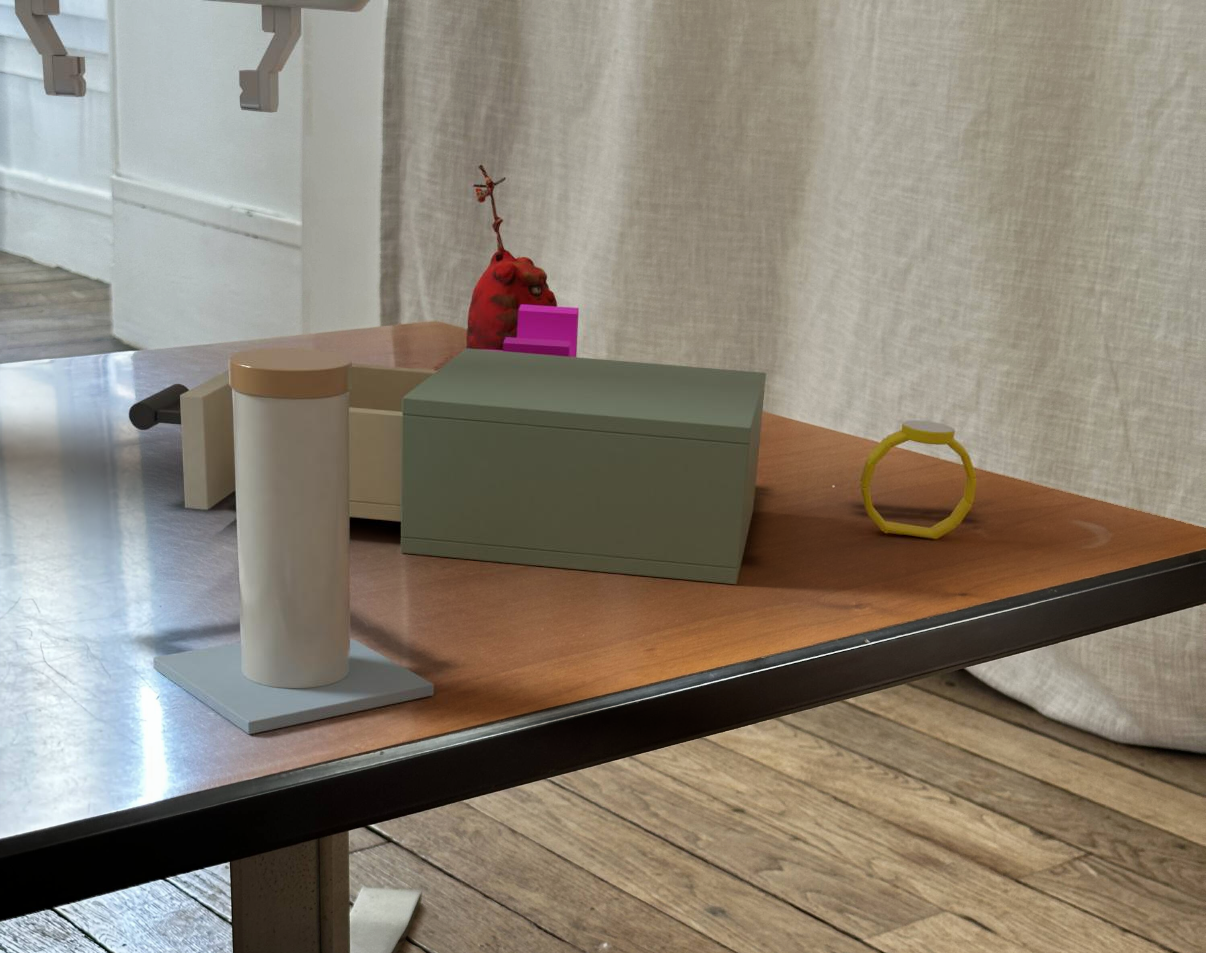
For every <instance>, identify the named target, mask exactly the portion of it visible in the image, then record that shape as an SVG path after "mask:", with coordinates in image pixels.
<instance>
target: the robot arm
mask: <svg viewBox="0 0 1206 953" xmlns="http://www.w3.org/2000/svg"><path fill="white" fill-rule="evenodd" d="M13 1H14V13H15V15H16V17H17V20H19V23H20V24H21V26H22V27H23V29H24V31H25V33H26V35H27V36H28V37H29V39H30V41H31V43H32V45H33V47H34V48H35V50H36V51H37V53H38V55H41V62H42V64H41V65H42V76H43V77H42V78H43V89H44V91H45V94H46V95H47V96H53V97H67V98H68V97H69V98H79V97H80V98H82V97H85V96H86V93H87V80H86V79H85V78H84V75H85V74H86V58H85V56H80V55H79V56H77V55H69V53H68V51H67V49H66V47H65V45H64V44H63V42H62V40H61V38H60V35H59V34H58V32H57V29H56V28H55V26H54V24H53V23H52V21H51V19H50V17H49V16H59V15H60V14H61V13H60V12H61V11H60V10H61V9H60V0H13ZM206 1H208V2H219V3H230V4H232V3H233V4H244V5H257V6H261V30H262V31H263V32H264V33H272V34H273V36H272V38H271V40H270V41H269V44H268V46H267V48H266V49H265V52H264V54H263V56H262V57H261V59H260V62H259V64H258V66H257V67H256V69H241V70H238V80H239V81H238V82H239V84H238V85H239V87H240V89H241V90H242V91H241V93H240V94H239V106H240V110H241V111H249V112H250V111H251V112H259V113H272V114H273V113H277V112H278V109H279V103H280V102H279V100H280V99H279V98H280V96H279V95H280V94H279V92H280V91H279V89H280V88H279V87H280V86H279V72H280V73H281V72H282V71H283V69H284V68H285V65H286V63H287V61H288V60H289V58H290V57H291V54H292V53H293V50H295V47H296V46H297V43H298V42H299V40H300V38H301V36H302V9H307V10H318V11H319V10H320V11H333V12H345V13H346V12H347V13H358V12H361V11H363V10H364V8H365V7H366V6H367V5H368V4H369V2H370V1H371V0H203V2H206Z"/></svg>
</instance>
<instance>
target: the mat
mask: <svg viewBox="0 0 1206 953" xmlns="http://www.w3.org/2000/svg"><path fill="white" fill-rule="evenodd" d="M153 669H154V670H155V671H157V672H158V673H160V674H161V675H163V676H164V677H166V678H167V679H168V680H170V681H171V682H173V683H174V684H175V685H177V686H178V687H180V688H182V689H183V690H184V691H186V692H187V693H188V694H190V695H191V696H193V697H194V698H196V699H197V700H198V701H200V702H201V703H203V704H204V705H206V706H207V707H209V708H210V709H212V710H213V711H214V712H215V713H217V714H219V715H220V716H222V717H223V718H224V719H226V720H227V721H229V722H230V723H232V724H233V725H234V726H236V727H237V728H239V729H240V730H242V731H243V732H245V733H246V734H247V735H252V734H257V733H262V732H266V731H272V730H276V729H281V728H287V727H290V726H295V725H300V724H304V723H309V722H310V723H311V722H315V721H318V720H319V721H320V720H323V719H324V720H325V719H329V718H333V717H339V716H342V715H347V714H352V713H357V712H361V711H366V710H371V709H377V708H380V707H385V706H391V705H394V704H400V703H404V702H408V701H414V700H418V699H422V698H429V697H432V696H434V695H435V694H434V693H435V692H434V691H435V685H434V683H433V682H431V681H430V680H427V679H426V678H424V677H422V676H420V675H419V674H417V673H415V672H413V671H411V670H410V669H408V668H406V667H404V666H403V665H400V664H399V663H397V662H396V661H394V660H391V659H390V658H388V657H386V656H385V655H383V654H381V653H379V652H377V651H376V650H374V649H372V648H370V647H369V646H366V644H363V643H361V642H359V641H358V640H356V639H354V638H353V637H351V636H350V672H349V674H348V675H347V676H346V677H345V678H344V679H342V680H340V681H338V682H335V683H333V684H329V685H325V686H320V687H313V688H297V689H293V688H278V687H271V686H266V685H262V684H259V683H256V682H253V681H251V680H249V679H248V678H246V677H245V676H244V675H243V673H242V670H241V641H238V642H232V643H227V644H220V645H215V646H210V647H203V648H198V649H193V650H187V651H181V652H175V653H170V654H165V655H158V656H154V657H153Z"/></svg>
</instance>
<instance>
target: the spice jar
mask: <svg viewBox="0 0 1206 953" xmlns="http://www.w3.org/2000/svg"><path fill="white" fill-rule="evenodd" d="M352 364H353V363H352V359H350V358H349V357H347V356H345V355H342V354H339V353H336V352H332V351H326V350H318V349H310V348H289V347H286V348H285V347H271V348H269V347H268V348H254V349H248V350H242V351H241V350H240V351H238V352H235V353H232V354H230V355H229V357H228V370H229V385H230V387H231V388H232V395H233V425H234V456H235V486H236V490H235V515H236V543H237V544H236V545H237V547H236V548H237V574H238V575H237V576H238V605H239V606H238V607H239V638H240V642H241V670H242V673H243V675H244V676H245V677H246V678H248V679H249V680H251V681H253V682H256V683H259V684H262V685H266V686H271V687H278V688H293V689H297V688H313V687H320V686H325V685H329V684H333V683H335V682H338V681H340V680H342V679H344V678H345V677H346V676H347V675H348V674H349V672H350V637H351V542H350V541H351V539H350V538H351V537H350V536H351V533H350V532H351V531H350V530H351V529H350V528H351V527H350V526H351V525H350V522H351V520H350V519H351V517H350V503H349V391H350V390H351V388H352Z"/></svg>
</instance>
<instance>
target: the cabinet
mask: <svg viewBox="0 0 1206 953" xmlns="http://www.w3.org/2000/svg"><path fill="white" fill-rule="evenodd" d="M766 377H767V373H766V372H761V371H747V370H735V369H726V368H725V369H724V368H713V367H712V368H711V367H701V366H700V367H698V366H687V365H676V364H661V363H650V362H639V361H638V362H637V361H628V360H627V361H625V360H614V359H603V358H602V359H601V358H589V357H577V356H576V357H566V356H554V355H542V354H529V353H517V352H505V351H493V350H481V349H468V348H466V347H465V349H463V350H462V351H460V352H459V353H458V354H457V355H455V356H454V357H453V358H452V359H450V360H449V361H448V362H447V363H444V365H442V366H441V367H440V368H439V369H437V370H436V372H435V373H434V374H432V375H431V376H430V377H429V378H427V379H426V380H425V381H423V382H422V383H421V384H420V385H418V386H417V387H416V388H414V389H413V390H412V391H411V392H409V393H408V394H407V395H405V396H404V397H403V398H402V414H403V415H402V468H401V522H400V553H401V554H408V555H409V554H410V555H419V556H420V555H421V556H430V557H440V558H453V559H462V560H463V559H464V560H473V561H474V560H475V561H481V562H482V561H484V562H495V563H504V564H505V563H506V564H516V565H526V566H535V567H536V566H537V567H548V568H558V569H569V570H579V571H588V572H589V571H590V572H601V573H609V574H610V573H611V574H621V575H622V574H623V575H633V576H641V577H642V576H643V577H654V578H662V579H663V578H664V579H673V580H684V581H695V582H707V583H718V584H728V585H737V584H738V579H739V575H740V570H741V566H742V562H743V557H744V553H745V547H746V543H747V538H748V535H749V530H750V525H751V520H752V517H753V512H754V506H755V505H754V504H755V495H756V494H755V493H756V485H757V484H756V483H757V474H758V462H759V452H760V441H761V433H762V432H761V430H762V421H763V411H764V399H765V391H766V390H765V387H766V380H767V378H766Z"/></svg>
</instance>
